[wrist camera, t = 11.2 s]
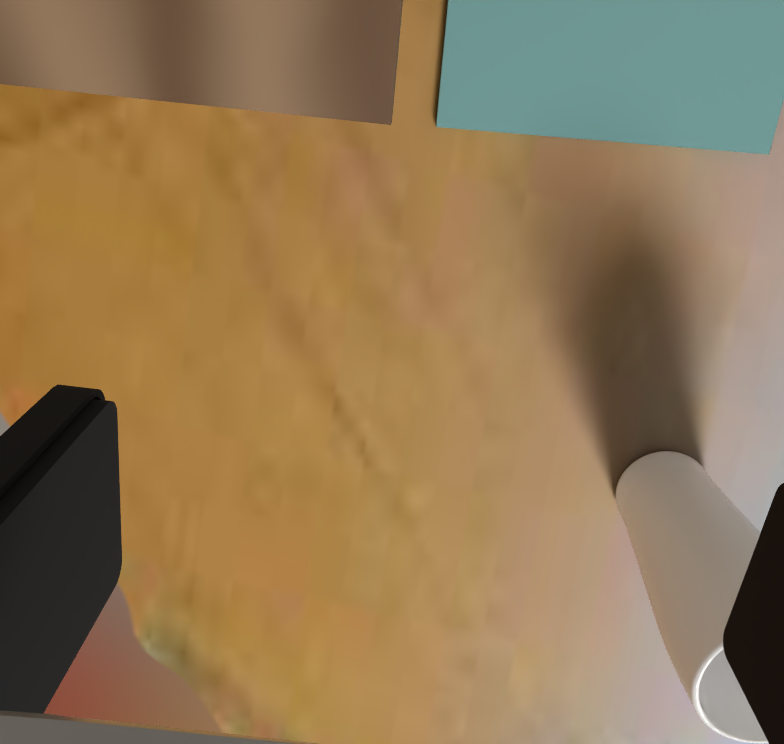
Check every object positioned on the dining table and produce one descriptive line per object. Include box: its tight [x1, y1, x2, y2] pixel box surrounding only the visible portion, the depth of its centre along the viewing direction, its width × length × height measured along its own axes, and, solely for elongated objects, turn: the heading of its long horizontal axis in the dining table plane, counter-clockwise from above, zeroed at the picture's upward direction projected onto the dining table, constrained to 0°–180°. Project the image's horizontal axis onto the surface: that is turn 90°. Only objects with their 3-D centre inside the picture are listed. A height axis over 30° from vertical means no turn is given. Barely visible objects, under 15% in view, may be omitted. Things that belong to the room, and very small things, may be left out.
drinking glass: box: [616, 451, 768, 743], centre depth 37 cm, size 7×7×15 cm
